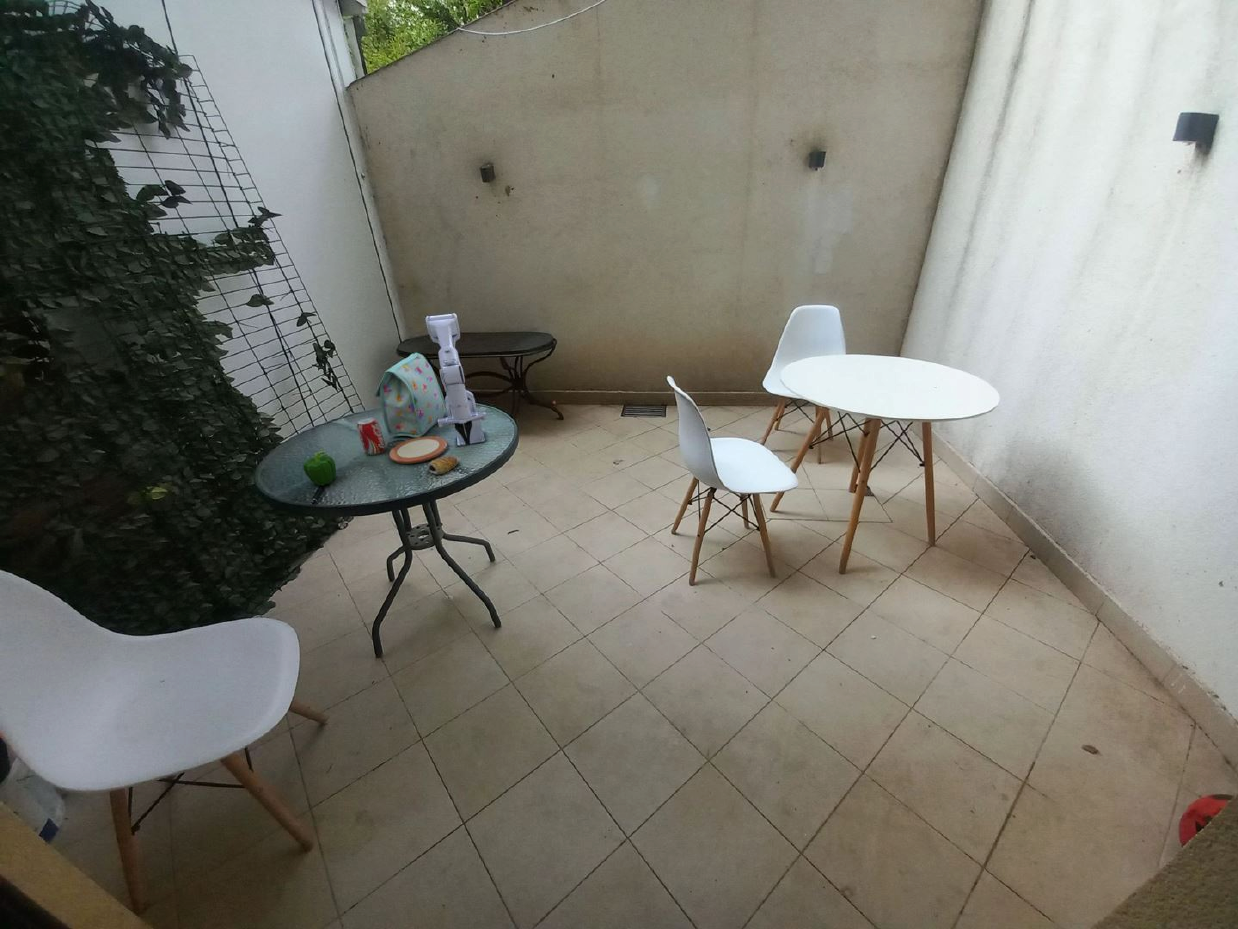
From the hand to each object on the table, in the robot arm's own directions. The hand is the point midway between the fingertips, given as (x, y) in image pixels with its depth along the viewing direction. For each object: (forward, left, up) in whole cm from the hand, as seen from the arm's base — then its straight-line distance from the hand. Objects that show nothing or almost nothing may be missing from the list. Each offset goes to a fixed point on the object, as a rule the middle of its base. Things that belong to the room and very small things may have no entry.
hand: (467, 443), depth 154 cm
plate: (+18, -17, -8) cm, 25 cm away
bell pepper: (+46, -7, -8) cm, 47 cm away
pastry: (+10, 0, -8) cm, 12 cm away
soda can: (+33, -24, -8) cm, 41 cm away
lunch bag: (+19, -41, -8) cm, 45 cm away
